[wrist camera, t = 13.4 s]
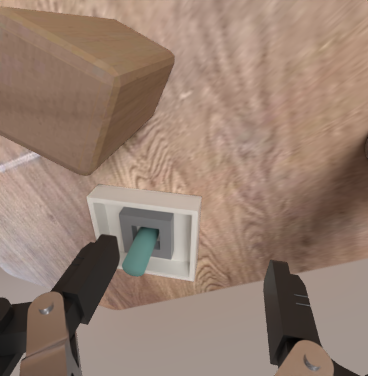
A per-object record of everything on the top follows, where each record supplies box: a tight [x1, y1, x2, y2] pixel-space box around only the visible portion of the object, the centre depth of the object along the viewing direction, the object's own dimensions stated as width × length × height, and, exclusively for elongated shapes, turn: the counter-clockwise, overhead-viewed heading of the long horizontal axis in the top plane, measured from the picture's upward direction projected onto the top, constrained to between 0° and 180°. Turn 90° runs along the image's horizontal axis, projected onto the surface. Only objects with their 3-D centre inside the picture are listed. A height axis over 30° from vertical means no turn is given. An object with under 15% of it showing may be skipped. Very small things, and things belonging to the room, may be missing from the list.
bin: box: [87, 184, 202, 282], centre depth 49 cm, size 20×18×4 cm
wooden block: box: [0, 7, 174, 176], centre depth 27 cm, size 10×10×20 cm
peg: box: [122, 227, 159, 276], centre depth 46 cm, size 4×4×10 cm
